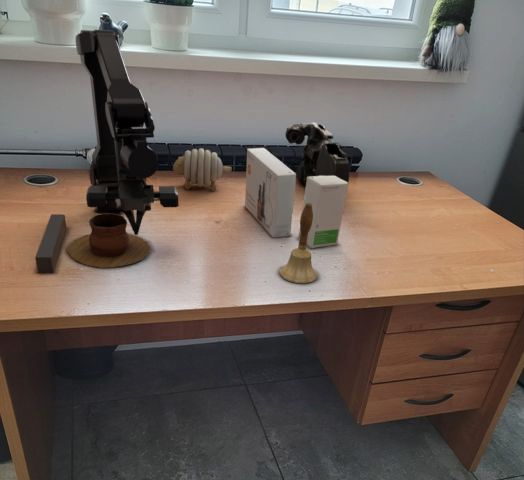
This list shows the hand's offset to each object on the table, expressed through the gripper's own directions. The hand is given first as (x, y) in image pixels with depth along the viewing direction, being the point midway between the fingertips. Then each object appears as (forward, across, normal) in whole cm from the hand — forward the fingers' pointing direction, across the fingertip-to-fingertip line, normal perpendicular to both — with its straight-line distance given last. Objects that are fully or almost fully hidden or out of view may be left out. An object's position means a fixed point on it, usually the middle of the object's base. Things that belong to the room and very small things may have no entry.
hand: (136, 234), depth 114 cm
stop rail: (+3, -18, 0) cm, 18 cm away
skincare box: (+4, +33, +17) cm, 37 cm away
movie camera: (+4, +54, +41) cm, 68 cm away
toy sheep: (+4, +18, +41) cm, 45 cm away
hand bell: (+4, +35, -13) cm, 37 cm away
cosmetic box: (+4, +44, +4) cm, 44 cm away
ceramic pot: (+4, -6, 0) cm, 7 cm away
